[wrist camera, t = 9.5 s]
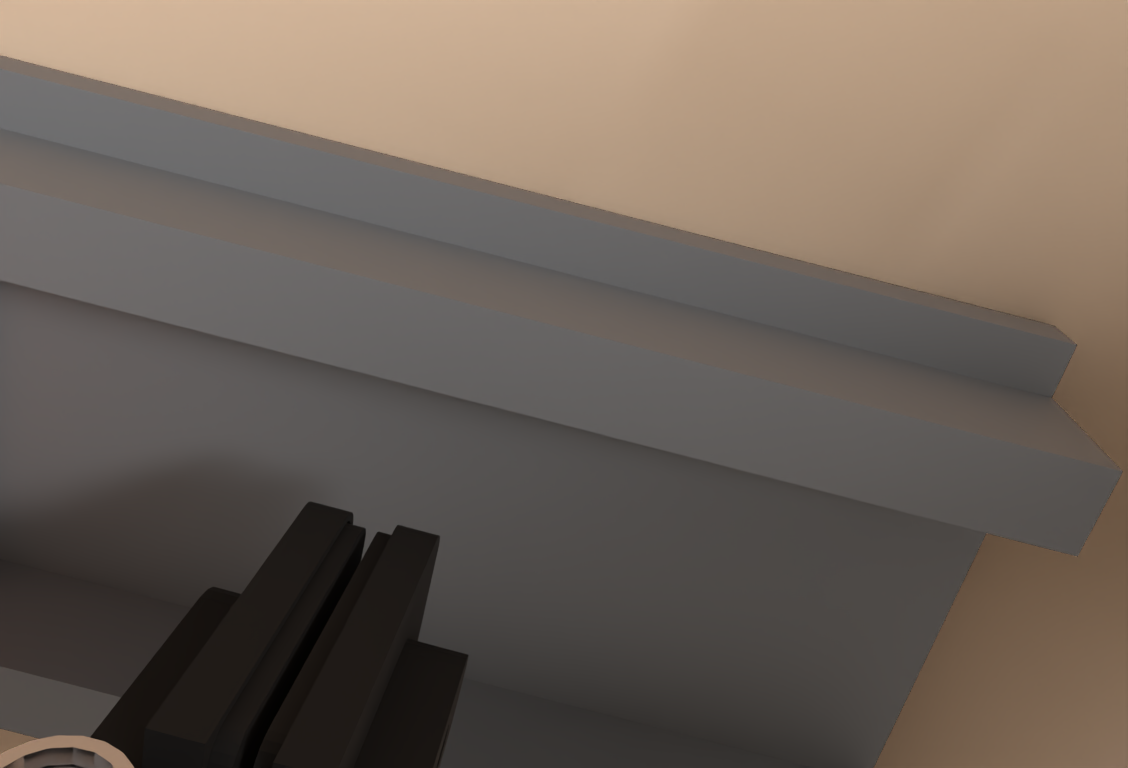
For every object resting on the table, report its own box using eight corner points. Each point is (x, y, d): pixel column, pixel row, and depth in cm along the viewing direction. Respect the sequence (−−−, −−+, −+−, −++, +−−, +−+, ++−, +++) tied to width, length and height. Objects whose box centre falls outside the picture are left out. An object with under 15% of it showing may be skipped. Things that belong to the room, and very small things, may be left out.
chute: (1054, 325, 14) (1155, 410, 11) (819, 828, 17) (849, 986, 15) (-857, -165, 14) (-1249, -207, 11) (-666, 446, 17) (-918, 531, 15)
